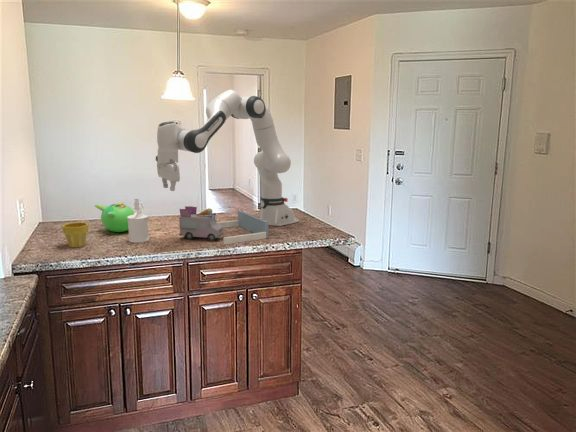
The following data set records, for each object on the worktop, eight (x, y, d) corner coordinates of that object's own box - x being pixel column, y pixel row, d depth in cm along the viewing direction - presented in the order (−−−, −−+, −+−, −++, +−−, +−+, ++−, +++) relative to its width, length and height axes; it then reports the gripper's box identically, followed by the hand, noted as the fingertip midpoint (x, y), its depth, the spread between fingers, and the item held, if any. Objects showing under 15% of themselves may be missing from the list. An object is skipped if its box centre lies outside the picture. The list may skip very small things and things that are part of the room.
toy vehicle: (217, 242, 222) (216, 211, 218) (178, 239, 225) (177, 208, 222) (224, 237, 230) (223, 207, 227) (186, 234, 234) (185, 205, 231)
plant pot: (69, 242, 218) (67, 221, 216) (92, 242, 219) (90, 221, 217) (60, 249, 208) (58, 227, 206) (85, 248, 209) (83, 227, 207)
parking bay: (239, 225, 255) (239, 210, 253) (268, 238, 230) (268, 222, 228) (199, 230, 243) (198, 215, 241) (224, 244, 218) (224, 227, 216)
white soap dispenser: (132, 237, 228) (130, 196, 224) (151, 237, 228) (149, 196, 223) (124, 243, 218) (121, 200, 213) (144, 243, 217) (142, 201, 213)
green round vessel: (142, 231, 239) (141, 203, 236) (111, 237, 227) (109, 207, 224) (125, 225, 251) (123, 198, 248) (93, 231, 239) (91, 202, 236)
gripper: (183, 160, 205) (183, 192, 208) (167, 156, 222) (168, 185, 225) (168, 161, 202) (169, 193, 205) (154, 156, 218) (155, 186, 221)
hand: (169, 189), depth 215 cm, fingers open, 8 cm apart
